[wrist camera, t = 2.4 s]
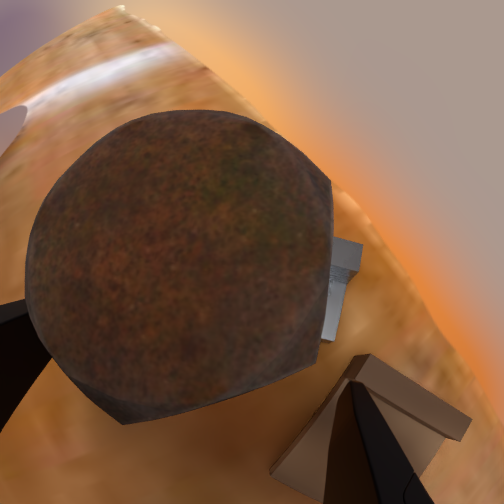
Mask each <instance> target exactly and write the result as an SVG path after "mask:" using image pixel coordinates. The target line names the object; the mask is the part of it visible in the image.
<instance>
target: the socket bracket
mask: <svg viewBox="0 0 504 504" xmlns="http://www.w3.org/2000/svg"><path fill="white" fill-rule="evenodd" d="M362 248H363V244H359V243H356V242H352V241H348V240H345V239H341V238H337V237H333V245H332V258H331V269H330V279H329V289H328V298H327V307H326V315H325V321H324V326H323V331H322V336H321V342H325V343H331V342H334V340H335V336H336V332H337V327H338V323H339V319H340V314H341V310H342V305H343V300H344V295H345V290H346V285H347V284H348V283H349V281H350V280H351V279H352V278H353V277H354V276H355V275H356V274H357V273H358V272H359V267H360V261H361V255H362Z"/></svg>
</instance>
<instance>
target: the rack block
mask: <svg viewBox="0 0 504 504" xmlns="http://www.w3.org/2000/svg"><path fill="white" fill-rule="evenodd" d="M350 380H354V381H359V382H362V383H363V384H364V385H365V386H366V388H367V390H368V391H369V393H370V395H371V396H372V398H373V400H374V402H375V403H376V405H377V407H378V408H379V410H380V412H381V413H382V415H383V417H384V418H385V420H386V422H387V424H388V425H389V427H390V429H391V430H392V432H393V434H394V436H395V437H396V439H397V441H398V442H399V444H400V446H401V448H402V449H403V451H404V453H405V455H406V456H407V458H408V460H409V462H410V463H411V465H412V467H413V469H414V472H415V473H416V474H417V476H418V477H419V478H420V476H421V475H422V473H423V472H424V471H425V469H426V468H427V466H428V465H429V463H430V462H431V460H432V459H433V457H434V456H435V454H436V453H437V451H438V449H439V448H440V446H441V445H442V443H443V441H444V440H445V438H448V439H452V440H456V441H459V442H460V441H461V439H462V438H463V436H464V434H465V432H466V430H467V429H468V427H469V425H470V423H471V421H472V419H471V418H470V417H468V416H467V415H465V414H463V413H462V412H460V411H459V410H457V409H456V408H454V407H452V406H451V405H449V404H448V403H446V402H445V401H443V400H441V399H440V398H438V397H437V396H435V395H434V394H432V393H430V392H429V391H427V390H426V389H424V388H423V387H421V386H420V385H418V384H416V383H415V382H413V381H412V380H410V379H409V378H407V377H406V376H404V375H403V374H401V373H399V372H398V371H396V370H395V369H393V368H392V367H390V366H389V365H387V364H386V363H384V362H383V361H381V360H380V359H378V358H377V357H375V356H374V355H372V354H365V355H358V356H354V358H353V359H352V361H351V363H350V364H349V366H348V367H347V369H346V370H345V372H344V373H343V375H342V376H341V378H340V379H339V381H338V382H337V384H336V385H335V387H334V388H333V389H332V391H331V392H330V394H329V395H328V397H327V398H326V399H325V401H324V402H323V404H322V405H321V406H320V408H319V409H318V410H317V412H316V413H315V414H314V416H313V417H312V418H311V420H310V421H309V422H308V424H307V425H306V426H305V428H304V429H303V430H302V431H301V433H300V434H299V435H298V436H297V438H296V439H295V440H294V441H293V443H292V444H291V445H290V446H289V447H288V449H287V450H286V451H285V452H284V453H283V455H282V456H281V457H280V458H279V459H278V460H277V462H276V463H275V464H274V465H273V466H272V467H271V468H270V469H269V471H270V476H271V477H273V478H274V479H276V480H278V481H280V482H281V483H283V484H285V485H287V486H289V487H291V488H293V489H294V490H296V491H298V492H300V493H302V494H304V495H306V496H308V497H310V498H312V499H315V500H317V501H319V502H321V503H323V498H324V490H325V480H326V470H327V459H328V449H329V443H330V437H331V432H332V427H333V422H334V416H335V411H336V405H337V401H338V398H339V396H340V394H341V393H342V391H343V389H344V388H345V386H346V384H347V383H348V382H349V381H350Z"/></svg>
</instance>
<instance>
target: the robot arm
mask: <svg viewBox="0 0 504 504" xmlns="http://www.w3.org/2000/svg"><path fill="white" fill-rule="evenodd" d="M51 359H52V356H51V355H50V354H49V352H48V351H47V349H46V348H45V346H44V345H43V343H42V342H41V340H40V339H39V337H38V335H37V332H36V330H35V328H34V326H33V323H32V321H31V319H30V316H29V312H28V308H27V304H26V300H25V299H22V300H18V301H15V302H11V303H7V304H3V305H0V433H1V431H2V429H3V428H4V426H5V424H6V423H7V421H8V420H9V418H10V417H11V415H12V414H13V412H14V411H15V409H16V408H17V406H18V405H19V403H20V402H21V400H22V399H23V397H24V396H25V394H26V393H27V392H28V390H29V389H30V387H31V386H32V384H33V383H34V382H35V380H36V379H37V377H38V376H39V375H40V373H41V372H42V371H43V369H44V368H45V367H46V365H47V364H48V363H49V361H50V360H51ZM323 504H435V503H434V502H433V500H432V499H431V497H430V496H429V494H428V493H427V491H426V489H425V488H424V486H423V484H422V483H421V481H420V479H419V477H418V476H417V474H416V473H415V472H414V469H413V467H412V465H411V463H410V462H409V460H408V458H407V456H406V455H405V453H404V451H403V449H402V448H401V446H400V444H399V442H398V441H397V439H396V437H395V436H394V434H393V432H392V430H391V429H390V427H389V425H388V424H387V422H386V420H385V418H384V417H383V415H382V413H381V412H380V410H379V408H378V407H377V405H376V403H375V402H374V400H373V398H372V396H371V395H370V393H369V391H368V390H367V388H366V386H365V385H364V384H363V383H362V382H359V381H354V380H350V381H349V382H348V383H347V384H346V386H345V388H344V389H343V391H342V393H341V394H340V396H339V398H338V401H337V405H336V411H335V416H334V422H333V427H332V432H331V437H330V443H329V449H328V459H327V470H326V480H325V490H324V498H323Z"/></svg>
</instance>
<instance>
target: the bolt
mask: <svg viewBox="0 0 504 504" xmlns="http://www.w3.org/2000/svg"><path fill="white" fill-rule="evenodd" d="M333 232H334V219H333V196H332V187H331V180H330V179H329V178H328V177H327V176H326V175H325V174H324V173H323V172H322V171H321V170H320V169H319V168H318V167H317V166H316V165H315V164H314V163H313V162H312V161H311V160H310V159H309V158H308V157H307V156H306V155H305V154H304V153H303V152H301V151H300V150H299V149H297V148H296V147H295V146H294V145H292V144H291V143H290V142H288V141H287V140H286V139H284V138H283V137H282V136H280V135H279V134H277V133H275V132H274V131H272V130H270V129H269V128H267V127H265V126H264V125H262V124H260V123H258V122H256V121H254V120H252V119H249V118H247V117H244V116H241V115H237V114H233V113H230V112H225V111H214V110H173V111H167V112H160V113H154V114H150V115H147V116H143V117H140V118H137V119H134V120H131V121H129V122H127V123H125V124H123V125H121V126H119V127H117V128H115V129H114V130H112V131H111V132H110V133H108V134H107V135H105V136H104V137H102V138H101V139H100V140H98V141H97V142H96V143H94V144H93V145H92V146H91V147H90V148H89V149H88V150H87V151H86V152H85V153H84V154H83V155H82V156H80V157H79V158H78V159H77V160H76V161H75V162H74V163H73V164H72V165H71V166H70V167H69V169H68V170H67V171H66V172H65V173H64V174H63V175H62V176H61V177H60V178H59V179H58V180H57V182H56V183H55V184H54V186H53V187H52V189H51V190H50V191H49V193H48V194H47V196H46V197H45V199H44V201H43V203H42V205H41V207H40V209H39V211H38V213H37V215H36V218H35V221H34V224H33V227H32V230H31V233H30V237H29V242H28V248H27V255H26V262H25V300H26V304H27V308H28V312H29V316H30V319H31V321H32V323H33V326H34V328H35V330H36V332H37V335H38V337H39V339H40V340H41V342H42V343H43V345H44V346H45V348H46V349H47V351H48V352H49V354H50V355H51V356H52V358H53V359H54V360H55V362H56V363H57V364H58V366H59V367H60V368H61V369H62V371H63V372H64V373H65V374H66V375H67V376H68V378H69V379H70V380H71V381H72V382H73V383H74V384H75V385H76V386H77V387H78V388H79V389H80V390H81V391H82V392H83V393H84V394H85V395H86V397H88V398H89V399H90V400H91V401H92V402H94V403H95V404H96V405H97V406H98V407H100V408H101V409H102V410H103V411H105V412H106V413H107V414H109V415H110V416H111V417H113V418H114V419H115V420H116V421H118V422H119V423H121V424H122V425H125V424H132V423H139V422H145V421H151V420H156V419H160V418H164V417H168V416H173V415H177V414H181V413H184V412H188V411H191V410H195V409H198V408H202V407H205V406H208V405H211V404H214V403H218V402H221V401H224V400H227V399H230V398H233V397H236V396H239V395H241V394H244V393H247V392H250V391H253V390H255V389H258V388H261V387H263V386H266V385H269V384H271V383H274V382H276V381H278V380H281V379H283V378H285V377H287V376H290V375H292V374H294V373H296V372H298V371H300V370H303V369H305V368H307V367H309V366H311V365H313V364H315V363H316V359H317V355H318V350H319V345H320V341H321V336H322V331H323V326H324V321H325V315H326V307H327V298H328V289H329V279H330V269H331V258H332V245H333Z"/></svg>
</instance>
